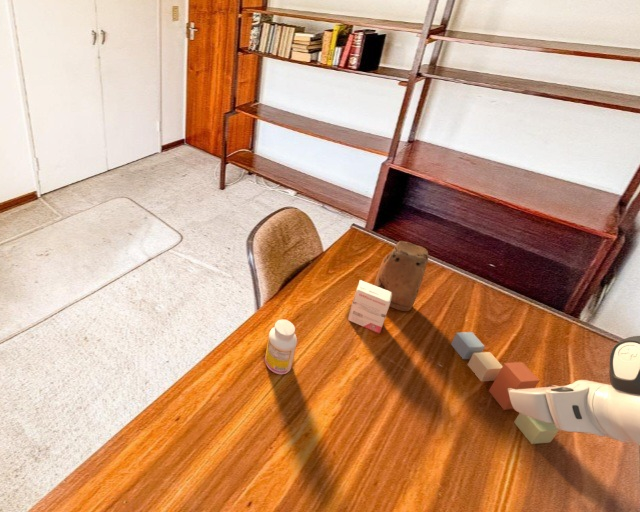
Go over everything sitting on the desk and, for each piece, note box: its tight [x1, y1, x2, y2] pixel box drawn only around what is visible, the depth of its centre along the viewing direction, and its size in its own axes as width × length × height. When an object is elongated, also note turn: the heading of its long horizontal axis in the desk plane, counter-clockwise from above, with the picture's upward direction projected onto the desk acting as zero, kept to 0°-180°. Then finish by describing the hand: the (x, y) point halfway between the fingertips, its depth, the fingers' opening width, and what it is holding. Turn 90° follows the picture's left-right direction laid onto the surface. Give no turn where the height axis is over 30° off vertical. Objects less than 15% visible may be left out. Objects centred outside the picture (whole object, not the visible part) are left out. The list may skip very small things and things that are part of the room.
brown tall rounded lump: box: [373, 240, 429, 312], centre depth 115 cm, size 11×8×20 cm
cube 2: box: [467, 351, 503, 382], centre depth 98 cm, size 4×4×4 cm
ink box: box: [347, 279, 392, 334], centre depth 109 cm, size 9×5×12 cm, turn 58°
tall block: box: [488, 361, 540, 411], centre depth 90 cm, size 4×4×10 cm
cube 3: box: [450, 331, 486, 360], centre depth 103 cm, size 4×4×4 cm
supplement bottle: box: [264, 319, 298, 375], centre depth 96 cm, size 7×7×13 cm
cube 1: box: [513, 413, 560, 445], centre depth 85 cm, size 4×4×4 cm
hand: (530, 390), depth 86 cm, fingers open, 8 cm apart
